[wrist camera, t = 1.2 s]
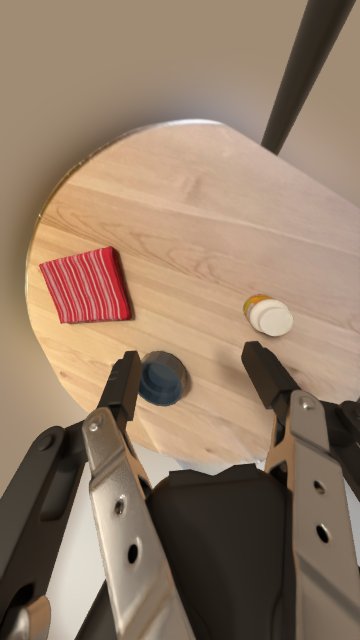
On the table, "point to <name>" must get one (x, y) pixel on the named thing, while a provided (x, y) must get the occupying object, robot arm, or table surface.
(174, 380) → the fruit bowl
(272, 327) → the supplement bottle
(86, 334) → the table surface
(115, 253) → the dish towel
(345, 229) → the table surface
